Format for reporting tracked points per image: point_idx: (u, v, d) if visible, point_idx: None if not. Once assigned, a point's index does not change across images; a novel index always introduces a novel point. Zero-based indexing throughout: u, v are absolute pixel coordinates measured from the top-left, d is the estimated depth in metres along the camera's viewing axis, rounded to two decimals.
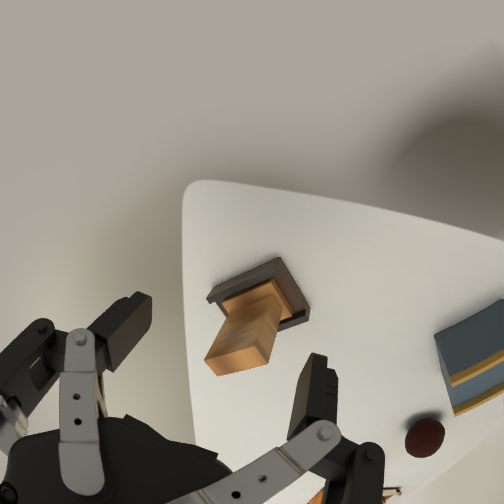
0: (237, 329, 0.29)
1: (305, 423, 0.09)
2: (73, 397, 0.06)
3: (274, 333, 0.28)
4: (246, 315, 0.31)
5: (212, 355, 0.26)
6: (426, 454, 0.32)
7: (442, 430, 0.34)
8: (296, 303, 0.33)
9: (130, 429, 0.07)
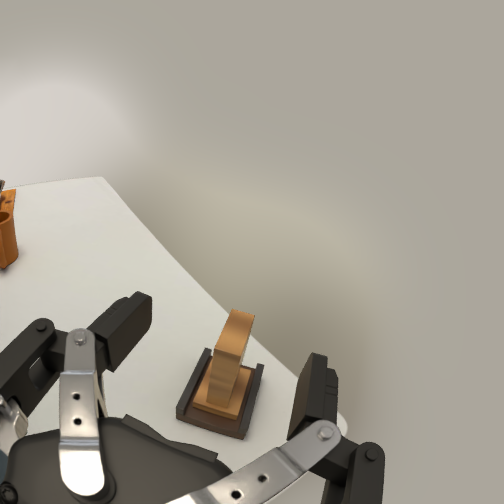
0: (241, 359, 0.28)
1: (305, 423, 0.09)
2: (73, 397, 0.06)
3: (212, 377, 0.25)
4: (237, 376, 0.28)
5: None
6: None
7: None
8: (196, 414, 0.27)
9: (130, 429, 0.07)
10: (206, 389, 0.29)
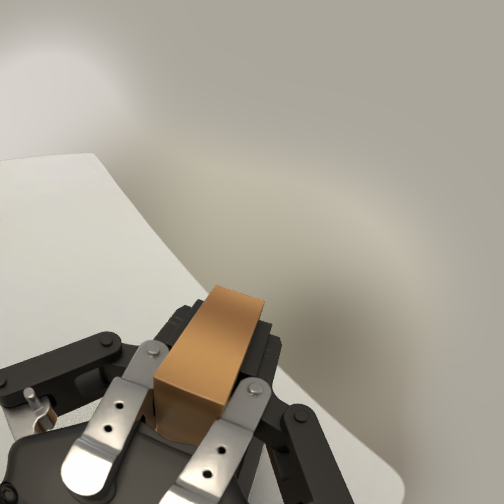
0: None
1: None
2: (116, 405, 0.07)
3: (163, 435, 0.10)
4: None
5: (258, 320, 0.12)
6: None
7: None
8: None
9: None
10: None
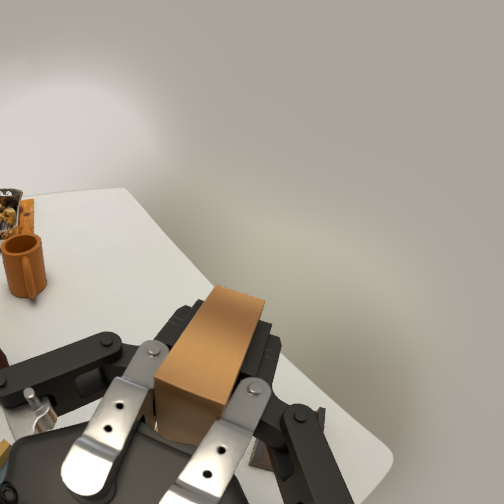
0: None
1: None
2: (116, 405, 0.07)
3: (164, 434, 0.10)
4: None
5: (258, 320, 0.12)
6: None
7: None
8: (270, 461, 0.26)
9: None
10: None
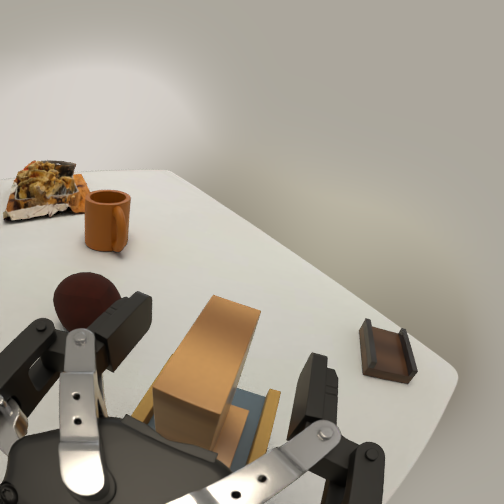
0: (229, 403, 0.12)
1: (305, 423, 0.09)
2: (73, 397, 0.06)
3: None
4: (220, 429, 0.13)
5: (254, 330, 0.12)
6: (86, 279, 0.28)
7: (78, 324, 0.26)
8: (380, 367, 0.34)
9: (130, 429, 0.07)
10: None
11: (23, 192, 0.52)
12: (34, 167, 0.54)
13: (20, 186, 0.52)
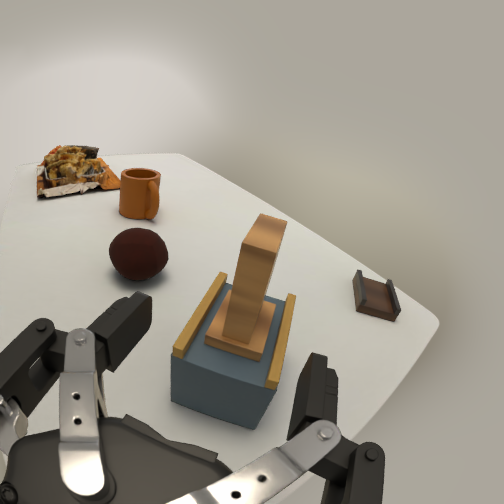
0: None
1: (305, 423, 0.09)
2: (73, 397, 0.06)
3: (235, 293, 0.21)
4: None
5: (284, 230, 0.23)
6: (141, 231, 0.38)
7: (134, 266, 0.37)
8: (370, 305, 0.45)
9: (130, 429, 0.07)
10: (222, 321, 0.25)
11: (54, 173, 0.62)
12: (63, 150, 0.63)
13: (50, 168, 0.62)
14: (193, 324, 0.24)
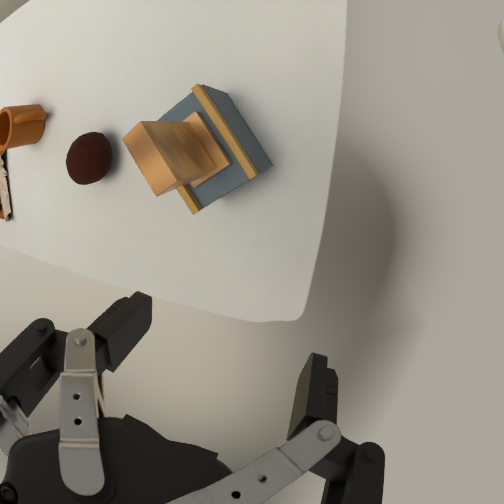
0: (179, 146, 0.24)
1: (305, 423, 0.09)
2: (73, 397, 0.06)
3: (182, 185, 0.26)
4: (192, 146, 0.26)
5: (148, 130, 0.20)
6: (73, 160, 0.35)
7: (102, 170, 0.38)
8: None
9: (130, 429, 0.07)
10: None
11: None
12: None
13: None
14: (182, 189, 0.31)
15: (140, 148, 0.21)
